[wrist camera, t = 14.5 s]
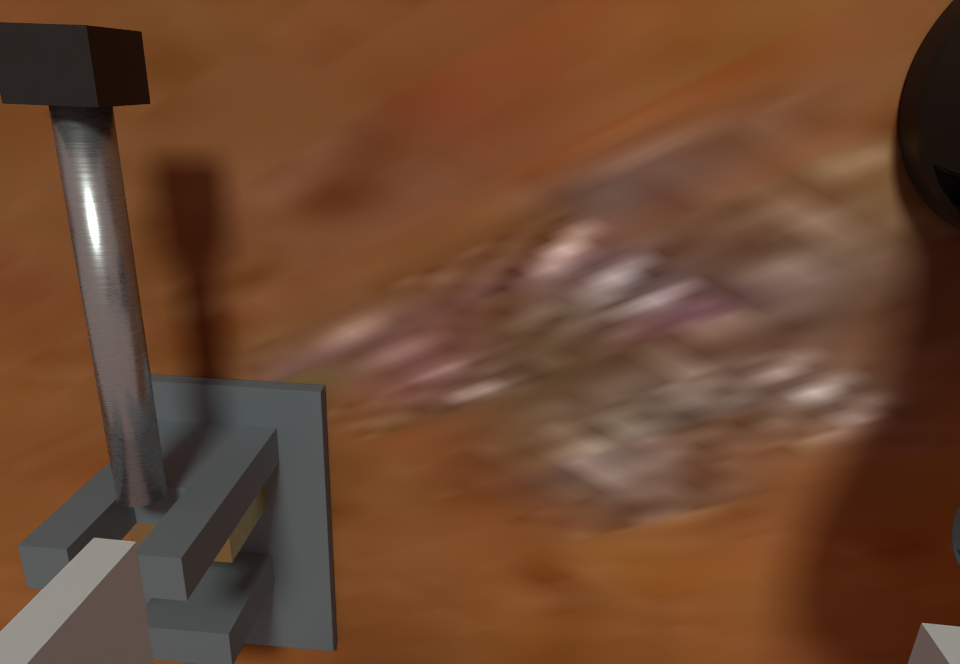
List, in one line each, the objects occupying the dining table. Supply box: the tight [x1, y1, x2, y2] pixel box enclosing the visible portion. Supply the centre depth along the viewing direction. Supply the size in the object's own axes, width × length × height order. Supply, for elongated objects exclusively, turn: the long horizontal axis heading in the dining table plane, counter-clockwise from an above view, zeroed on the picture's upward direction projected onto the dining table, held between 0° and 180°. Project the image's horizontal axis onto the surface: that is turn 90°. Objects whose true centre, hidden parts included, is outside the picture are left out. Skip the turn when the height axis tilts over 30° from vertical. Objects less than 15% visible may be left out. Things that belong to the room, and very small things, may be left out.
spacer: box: [130, 482, 268, 563], centre depth 44 cm, size 3×6×6 cm, turn 88°
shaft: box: [0, 22, 167, 508], centre depth 33 cm, size 22×4×4 cm, turn 178°
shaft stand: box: [18, 374, 337, 664], centre depth 42 cm, size 21×14×14 cm, turn 178°
